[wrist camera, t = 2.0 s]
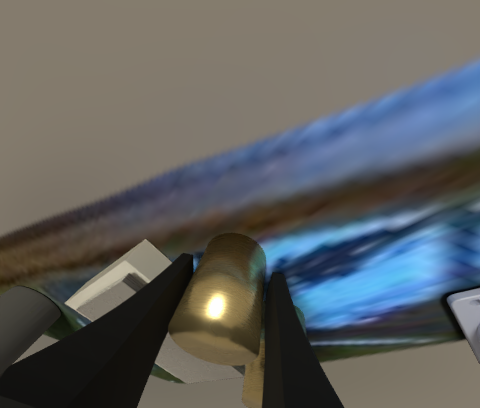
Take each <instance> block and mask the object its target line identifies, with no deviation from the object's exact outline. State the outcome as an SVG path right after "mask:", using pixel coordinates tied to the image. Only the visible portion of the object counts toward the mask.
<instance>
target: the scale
mask: <svg viewBox="0 0 480 408" xmlns="http://www.w3.org/2000/svg"><path fill="white" fill-rule="evenodd" d="M171 263H172V262H171V261H170V260H169V259H168V258H167V257H165V256H164V255H163V254H162V253H161V252H160V251H159V250H158V249H156V248H155V247H154V246H153V245H152V244H151V243H150V242H149V241H148V240H146V239H145V240H144V241H142V242H141V243H140V244H138V245H137V246H136V247H134V248H133V249H132V250H130V251H129V252H127V253H126V254H125V255H123V256H122V257H121V258H119V259H118V260H117V261H115V262H114V263H113V264H111V265H110V266H108V267H107V268H106V269H104V270H103V271H102V272H100V273H99V274H98V275H96V276H95V277H94V278H92V279H91V280H89V281H88V282H87V283H86V284H85V285H83V286H82V287H81V288H80V289H79V290H78V291H77V292H76V293H75V294H74V295H73V296H72V297H71V298H70V299H69V300H68V301H66V302H65V304H67V305H68V306H70V307H71V308H73V309H74V310H76V309H77V308H78V307H79V306H80V305H81V304H82V303H83V302H84V301H86V300H87V299H89V298H90V297H92V296H94V295H95V294H97V293H98V292H100V291H101V290H103V289H104V288H106V287H108V286H109V285H111V284H112V283H114V282H115V281H117V280H119V279H120V278H122V277H123V276H125V275H126V274H128V273H130V274H131V275H133V276H134V277H135V278H136V279H138V280H139V281H140V282H141V283H142V284H144V285H147V284H148V283H149V282H150V281H152V280H153V279H154V278H155V277H156V276H158V275H159V274H160V273H161V272H162V271H164V270H165V269H166V268H167V267H168V266H169V265H170V264H171ZM76 311H77V310H76ZM77 312H78V311H77ZM79 313H80V312H79ZM80 314H81V313H80ZM82 315H83V314H82ZM83 316H84V315H83ZM85 317H86V316H85ZM86 318H87V317H86ZM88 319H89V318H88ZM89 320H90V319H89ZM91 321H92V320H91ZM92 322H93V321H92ZM157 365H158V364H157ZM245 366H246V364H245ZM160 367H161V366H160ZM162 368H163V367H162ZM163 369H164V368H163ZM165 370H166V369H165ZM166 371H167V370H166ZM168 372H169V371H168ZM169 373H170V372H169ZM171 374H172V373H171ZM172 375H173V374H172ZM174 376H175V375H174ZM175 377H176V376H175Z"/></svg>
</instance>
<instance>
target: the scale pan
mask: <svg viewBox="0 0 480 408" xmlns="http://www.w3.org/2000/svg"><path fill="white" fill-rule="evenodd" d="M144 286H145V285H144V284H142V283H141V282H140V281H139V280H138V279H136V278H135V277H134V276H133V275H131V274H130V273H128V274H126V275H125V276H123V277H122V278H120V279H119V280H117V281H115V282H114V283H112V284H111V285H109V286H108V287H106V288H104V289H103V290H101V291H100V292H98V293H97V294H95V295H94V296H92V297H90V298H89V299H87V300H86V301H84V302H83V303H82V304H81V305H80V306H79V307H78V308H77V309H76V310H77V311H78V312H80V313H81V314H83V315H84V316H86V317H87V318H89V319H90V320H92V321H95V320H96V319H98V318H100V317H101V316H103V315H104V314H106V313H107V312H109V311H111V310H112V309H114V308H115V307H117V306H118V305H120V304H121V303H123V302H124V301H125V300H127V299H128V298H130V297H131V296H132V295H134V294H135V293H136V292H138V291H139V290H140V289H142V288H143V287H144ZM155 363H156V364H158V365H159V366H161V367H163V368H164V369H166V370H167V371H169V372H170V373H172V374H173V375H175V376H176V377H178V378H179V379H181V380H182V381H184V382H185V383H187V384H188V383H197V382H206V381H214V380H223V379H232V378H241V377H245V368H246V366H245V365H240V366H226V365H219V364H214V363H210V362H207V361H204V360H201V359H199V358H197V357H195V356H193V355H191V354H189V353H187V352H186V351H184V350H183V349H181V348H180V347H179V346H178V345H177V344H176V343H175V342H174V341H173V340H172V338H171V337H170V334H169V331H168V333H167V335H166V338H165V340H164V342H163V344H162V346H161V349H160V351H159V353H158V356H157V358H156V361H155Z"/></svg>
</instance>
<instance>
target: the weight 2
mask: <svg viewBox="0 0 480 408" xmlns="http://www.w3.org/2000/svg"><path fill="white" fill-rule="evenodd" d="M265 302H266V301H263V309H262V323H261V337H260V351H259V355H258V357H257V358H256V360H254V361H253V362H251V363H249V364H246V368H245V377H244V385H243V394H242V401H243V403H244V404H245V405H246V406H247V407H248V408H262V397H263V383H264V365H265V329H264V313H265ZM294 307H295V310H296V313H297V315H298V318H299V320H300V323H301V325H302V327H303V330H304V332H305V334H306V326H305V318H304V314H303V312H302V311H301V310H300V309H299V308H298V307H297V306H295V305H294ZM306 337H307V334H306Z"/></svg>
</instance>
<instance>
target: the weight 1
mask: <svg viewBox="0 0 480 408" xmlns="http://www.w3.org/2000/svg"><path fill="white" fill-rule="evenodd" d="M265 266H266V256H265V253H264V251H263V249H262V248H261V246H260V245H259V244H258V243H257V242H256V241H254V240H253V239H251V238H249V237H247V236H245V235H242V234H237V233H224V234H220V235H218V236H216V237H214V238H213V239H212V240H211V241H210V242H209V244H208V246H207V248H206V250H205V252H204V254H203V256H202V258H201V260H200V262H199V264H198V266H197V268H196V270H195V272H194V274H193V276H192V278H191V280H190V282H189V284H188V286H187V288H186V291H185V293H184V295H183V297H182V299H181V301H180V303H179V305H178V307H177V309H176V311H175V313H174V315H173V317H172V319H171V321H170V323H169V326H168V331H169V334H170V337H171V338H172V340H173V341H174V342H175V343H176V344H177V345H178V346H179V347H180V348H181V349H183V350H184V351H186V352H187V353H189V354H191V355H193V356H195V357H197V358H199V359H201V360H204V361H207V362H210V363H214V364H219V365H226V366H240V365H245V364H249V363H251V362H253V361H254V360H256V358H257V357H258V355H259V351H260V337H261V323H262V309H263V294H264V280H265Z"/></svg>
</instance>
